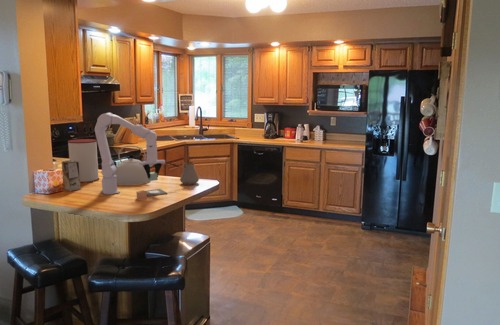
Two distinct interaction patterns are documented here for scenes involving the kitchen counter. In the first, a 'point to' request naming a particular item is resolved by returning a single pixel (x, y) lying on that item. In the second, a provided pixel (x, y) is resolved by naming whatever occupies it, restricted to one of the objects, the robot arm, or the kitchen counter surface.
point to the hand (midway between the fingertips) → (152, 177)
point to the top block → (141, 195)
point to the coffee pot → (188, 173)
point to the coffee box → (71, 175)
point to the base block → (153, 176)
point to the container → (85, 158)
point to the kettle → (131, 171)
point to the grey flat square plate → (155, 192)
